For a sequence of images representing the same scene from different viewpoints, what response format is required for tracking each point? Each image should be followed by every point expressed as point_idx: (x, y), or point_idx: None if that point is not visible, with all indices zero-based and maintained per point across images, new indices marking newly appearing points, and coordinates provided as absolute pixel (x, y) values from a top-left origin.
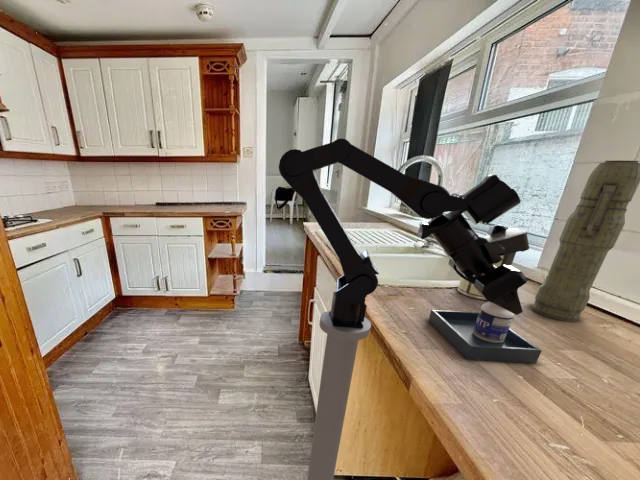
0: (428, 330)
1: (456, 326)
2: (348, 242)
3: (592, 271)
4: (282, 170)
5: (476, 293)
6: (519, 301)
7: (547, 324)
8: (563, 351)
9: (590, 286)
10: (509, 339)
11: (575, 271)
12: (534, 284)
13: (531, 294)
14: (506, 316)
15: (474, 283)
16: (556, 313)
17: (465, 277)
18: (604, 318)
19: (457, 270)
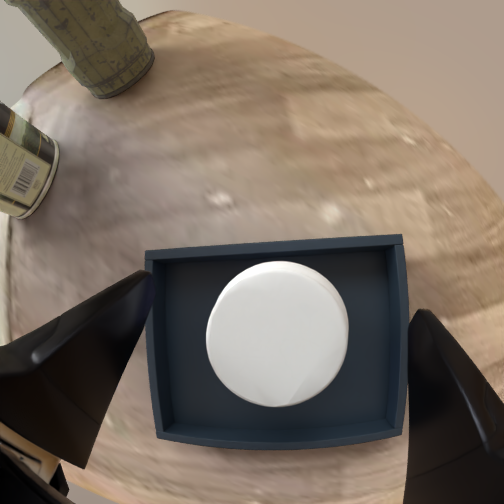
0: (238, 452)
1: (222, 385)
2: None
3: None
4: None
5: (36, 192)
6: (473, 365)
7: (164, 96)
8: (300, 131)
9: (120, 4)
10: (292, 256)
11: (88, 2)
12: (43, 76)
13: (61, 86)
14: (348, 327)
15: (105, 401)
16: (135, 70)
17: (85, 453)
18: (151, 25)
19: (62, 491)
